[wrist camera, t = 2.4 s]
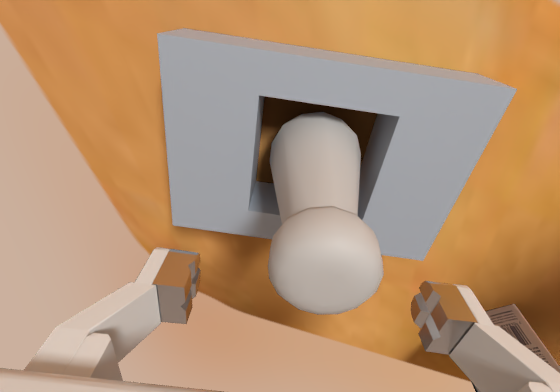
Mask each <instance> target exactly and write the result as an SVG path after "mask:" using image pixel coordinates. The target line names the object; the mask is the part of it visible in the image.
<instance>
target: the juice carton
mask: <svg viewBox="0 0 560 392" xmlns="http://www.w3.org/2000/svg"><path fill="white" fill-rule="evenodd" d="M486 314H487V315H488V317H489V318H490V320H491V321H492V323H493V324H494V325H496V326H499V327H500V328H502V329H503V330H504V331H506V332H507V333H508V334H509V335H511V336H512V337H513V338H515V339H516V340H517V341H519V342H520V343H521V344H522V345H524V346H525V347H526V348H528V349H529V350H530V351H532V352H533V353H534V354H535V355H537V356H538V357H539V358H541V359H542V360H543V361H544V362H546V363H547V364H548V365H550V366H551V367H552V368H554V369H555V370H556V371H557V372H559V373H560V366H559V365H558V364H557V362H556V361H555V359H554V358H553V357H552V355H551V354H550V352H549V351H548V350H547V348H546V347H545V345H544V344H543V343H542V341H541V340H540V338H539V337H538V336H537V334H536V333H535V331H534V330H533V329H532V327H531V326H530V325H529V323H528V322H527V320H526V319H525V318H524V316H523V315H522V313H521V312H520V311H519V309H518V308H517V306H516V305H515V304H511V305H508V306H504V307H500V308H497V309H493V310H489V311H486ZM471 382H472V381H471ZM472 384H473V382H472ZM473 386H474V389H475V391H476V392H480V390H479V389H478V388H477V387H476V386H475V385H474V384H473Z"/></svg>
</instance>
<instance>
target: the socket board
mask: <svg viewBox="0 0 560 392" xmlns="http://www.w3.org/2000/svg"><path fill="white" fill-rule="evenodd" d="M157 36H158V49H159V61H160V73H161V85H162V98H163V110H164V122H165V134H166V147H167V159H168V171H169V183H170V196H171V208H172V220H173V225H174V226H181V227H189V228H196V229H203V230H210V231H217V232H224V233H231V234H238V235H245V236H252V237H259V238H266V239H272V238H273V236H274V234H275V233H276V232H277V230H278V229H279V228H280V227H281V225H282V222H281V217H280V212H279V207H278V202H277V197H276V191H275V186H274V184H273V183H266V182H259V181H256V177H257V167H258V157H259V147H260V137H261V128H262V118H263V108H264V98H265V96H266V97H273V98H280V99H286V100H293V101H299V102H306V103H313V104H319V105H326V106H332V107H339V108H346V109H352V110H359V111H365V112H372V113H377V116H376V119H375V123H374V126H373V129H372V132H371V135H370V139H369V142H368V145H367V148H366V151H365V154H364V158H363V161H362V164H361V167H360V180H359V199H358V217H359V218H360V219H361V220H362V221H363V222H364V223H366V224H367V225H368V226H369V227H370V228H371V229H372V230H373V231H374V233H375V235H376V238H377V240H378V242H379V247H380V252H381V255H386V256H394V257H401V258H408V259H415V260H422V261H423V260H424V258H425V256H426V254H427V253H428V251H429V249H430V247H431V245H432V243H433V242H434V240H435V238H436V236H437V234H438V233H439V231H440V229H441V227H442V225H443V223H444V222H445V220H446V218H447V216H448V214H449V213H450V211H451V209H452V207H453V205H454V203H455V202H456V200H457V198H458V196H459V194H460V193H461V191H462V189H463V187H464V185H465V183H466V182H467V180H468V178H469V176H470V174H471V172H472V171H473V169H474V167H475V165H476V163H477V162H478V160H479V158H480V156H481V154H482V152H483V151H484V149H485V147H486V145H487V143H488V142H489V140H490V138H491V136H492V134H493V132H494V131H495V129H496V127H497V125H498V123H499V121H500V120H501V118H502V116H503V114H504V112H505V111H506V109H507V107H508V105H509V103H510V101H511V100H512V98H513V96H514V94H515V92H516V91H517V89H515V88H513V87H510V86H508V85H505V84H503V83H500V82H497V81H495V80H492V79H490V78H487V77H484V76H482V75H479V74H475V73H469V72H463V71H456V70H450V69H443V68H437V67H430V66H424V65H418V64H411V63H405V62H398V61H392V60H385V59H379V58H372V57H366V56H360V55H353V54H347V53H340V52H334V51H327V50H321V49H314V48H308V47H302V46H295V45H289V44H282V43H276V42H269V41H263V40H257V39H250V38H244V37H237V36H231V35H224V34H218V33H211V32H205V31H199V30H192V29H186V28H183V29H178V30H173V31H168V32H163V33H157Z"/></svg>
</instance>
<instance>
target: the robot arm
mask: <svg viewBox="0 0 560 392" xmlns="http://www.w3.org/2000/svg"><path fill="white" fill-rule="evenodd" d="M199 263H200V254H199V253H195V252H188V251H182V250H175V249H166V248H160V247H156V248H155V249H154V250H153V252H152V253H151V255H150V257H149V258H148V260H147V262H146V264H145V265H144V267H143V269H142V270H141V272H140V274H139V276H138V277H137V279H136V281H135V282H129V283H128V284H126V285H124V286H123V287H121V288H119V289H118V290H116V291H114V292H113V293H111V294H110V295H108V296H106V297H105V298H103V299H101V300H100V301H98V302H96V303H95V304H93V305H92V306H90V307H88V308H87V309H85V310H83V311H82V312H80V313H79V314H77V315H75V316H74V317H72V318H70V319H69V320H67V321H65V322H64V323H62V324H60V325H59V326H57V327H56V328H55V329H54V331H53V332H52V333H51V335H50V336H49V337H48V339H47V340H46V341H45V343H44V344H43V345H42V347H41V348H40V349H39V351H38V352H37V353H36V354H35V356H34V357H33V359H32V360H31V361H30V363H29V364H28V365H27V367H26V368H25V369H24V370H14V369H5V368H0V392H221V391H212V390H203V389H192V388H183V387H173V386H165V385H155V384H145V383H136V382H126V381H123V380H122V376H121V373H120V369H119V366H118V362H119V361H121V360H122V359H123V358H124V357H125V356H126V355H127V354H128V353H129V352H130V351H131V350H132V349H134V348H135V347H136V346H137V345H138V344H139V343H140V342H141V341H142V340H143V339H144V338H146V337H147V335H149V334H150V333H151V332H152V331H153V330H154V329H155V328H156V327H157V326H158V325H160V323H161V322H170V323H182V324H186V323H187V321H188V318H189V315H190V312H191V309H192V299H193V298H194V297H195V296H196V294H197V291H198V288H199V283H200V274H201V270H200V269H199V268H198V266H199ZM419 289H420V291H421V293H419V294H417V295H415V296H414V298H413V300H412V302H411V315H412V318H413V321H414V323H416V324H417V325H418V326H419V327H420V331H419V333H418V334H419V336H420V339H421V341H422V344H423V346H424V349H425V351H427V352H434V353H441V354H448V355H449V356H450V358H451V359H452V360H453V361H454V362H455V363H456V364H457V366H458V367H459V368H460V369H461V370H462V371H463V372H464V373H465V375H466V376H467V377H468V378H469V379H470V380H471V381H472V382H473V384H474V385H475V386H476V387H477V388H478V389H479V390H480V392H560V373H559V372H557V371H556V370H555V369H554V368H552V367H551V366H550V365H548V364H547V363H546V362H544V361H543V360H542V359H541V358H539V357H538V356H537V355H535V354H534V353H533V352H532V351H530V350H529V349H528V348H526V347H525V346H524V345H522V344H521V343H520V342H519V341H517V340H516V339H515V338H513V337H512V336H511V335H509V334H508V333H507V332H506V331H504V330H503V329H502V328H500V327H499V326H496V325H494V324H493V323H492V321H491V320H490V318H489V317H488V315H487V314H486V312H485V310H484V309H483V307H482V306H481V304H480V303H479V301H478V300H477V298H476V296H475V295H474V293H473V292H472V290H471V289H470V288H469V287H468V286H466V285H457V284H448V283H439V282H430V281H424V282H423V283H422V284H421V285H420V287H419Z"/></svg>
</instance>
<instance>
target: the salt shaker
mask: <svg viewBox="0 0 560 392" xmlns="http://www.w3.org/2000/svg"><path fill="white" fill-rule="evenodd" d="M360 162H361V152H360V147H359V143H358V138H357V135H356V134H355V133H354V132H353V131H352V129H351V128H350V127H349V126H348V125H347V124H346V123H345V122H344V121H343V120H342V119H340V118H338V117H335V116H332V115H330V114H327V113H325V112H314V113H306V114H301V115H299V116H297V117H295V118H294V119H292V120H290V121H288V122H286V123H285V124H283V126H282V127H281V129H280V131H279V132H278V134H277V135H276V137H275V139H274V140H273V142H272V145H271V154H270V166H271V171H272V176H273V181H274V186H275V191H276V197H277V202H278V207H279V212H280V217H281V222H282V225H281V227H280V228H279V229H278V230H277V232H276V233H275V234H274V236H273V238H272V242H271V247H270V254H269V261H268V271H269V279H270V281H271V283H272V284H273V286H274V288H275V290H276V292H277V294H278V295H280V296H281V297H282V298H284V299H285V300H286V301H288V302H289V303H291V304H292V305H293V306H295V307H296V308H298V309H299V310H303V311H307V312H310V313H314V314H340V313H343V312H346V311H349V310H352V309H355V308H357V307H358V306H360V305H361V304H362V303H363V302H365V301H366V300H367V299H369V298H370V297H371V296H372V295H373V294H374V293H375V292H377V289H378V287H379V284H380V282H381V279H382V277H383V261H382V256H381V252H380V247H379V242H378V240H377V238H376V235H375V233H374V231H373V230H372V229H371V228H370V227H369V226H368V225H367V224H366V223H364V222H363V221H362V220H361V219H360V218H359V217H358V199H359V180H360Z"/></svg>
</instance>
